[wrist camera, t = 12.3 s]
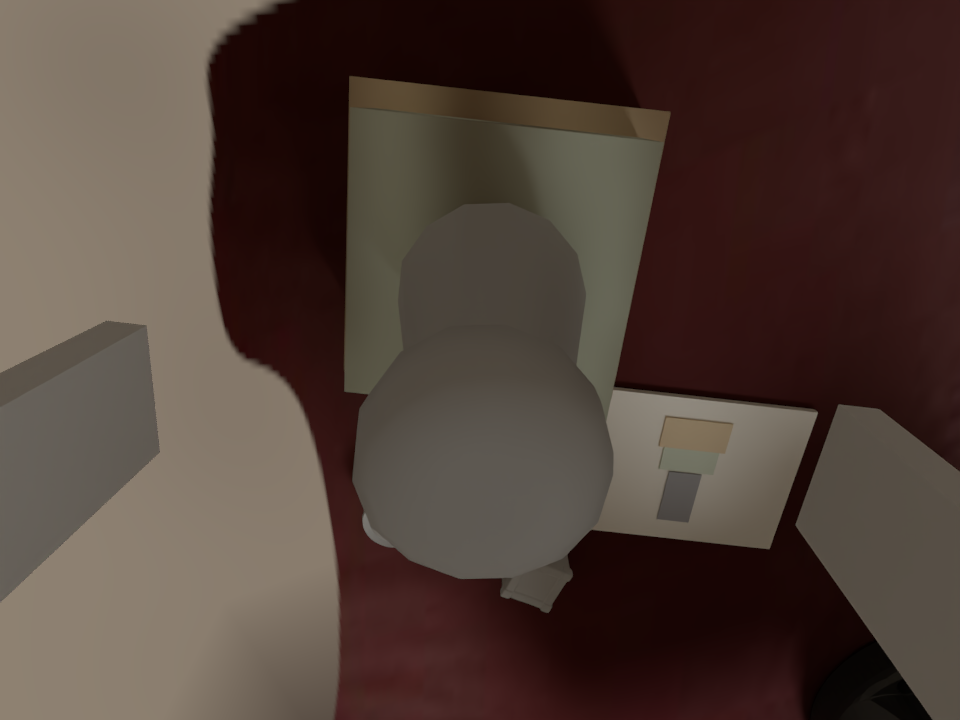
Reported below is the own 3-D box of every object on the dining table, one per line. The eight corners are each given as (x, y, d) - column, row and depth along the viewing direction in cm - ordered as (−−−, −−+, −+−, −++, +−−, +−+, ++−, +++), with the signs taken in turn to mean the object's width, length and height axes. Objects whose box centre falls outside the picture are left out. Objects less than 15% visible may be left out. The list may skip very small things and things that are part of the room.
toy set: (567, 534, 37) (575, 577, 33) (542, 574, 38) (547, 620, 34) (382, 462, 35) (370, 500, 31) (361, 507, 36) (348, 548, 33)
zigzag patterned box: (642, 111, 27) (703, 111, 19) (595, 358, 32) (627, 446, 23) (376, 82, 27) (318, 69, 19) (367, 333, 32) (318, 412, 23)
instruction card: (814, 409, 32) (818, 413, 32) (766, 544, 36) (770, 550, 35) (590, 384, 32) (592, 388, 32) (564, 522, 36) (565, 527, 35)
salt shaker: (416, 356, 22) (313, 644, 10) (401, 196, 20) (247, 323, 8) (576, 351, 22) (663, 641, 10) (578, 188, 20) (692, 307, 8)
